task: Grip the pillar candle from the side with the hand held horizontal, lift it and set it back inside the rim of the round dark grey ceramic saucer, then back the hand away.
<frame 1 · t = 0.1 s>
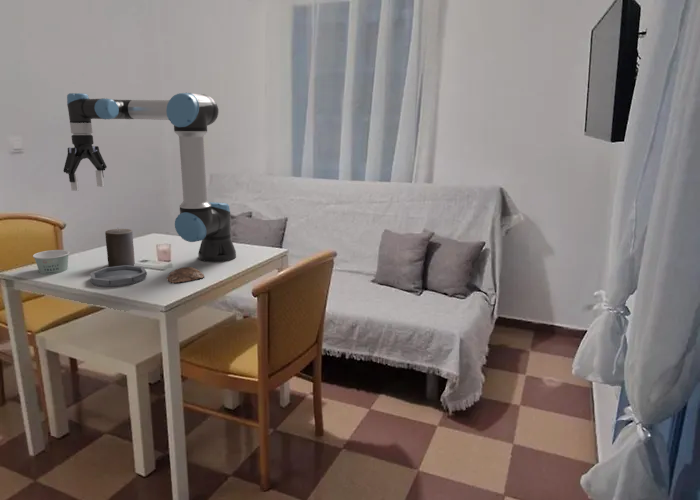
hand: (88, 188, 207), 28 cm above the table, tool pointing down, fingers open, 13 cm apart
shell: (185, 279, 187), on the table
food container: (53, 271, 193), on the table
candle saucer: (119, 278, 184), on the table
pillar candle: (122, 265, 201), on the table
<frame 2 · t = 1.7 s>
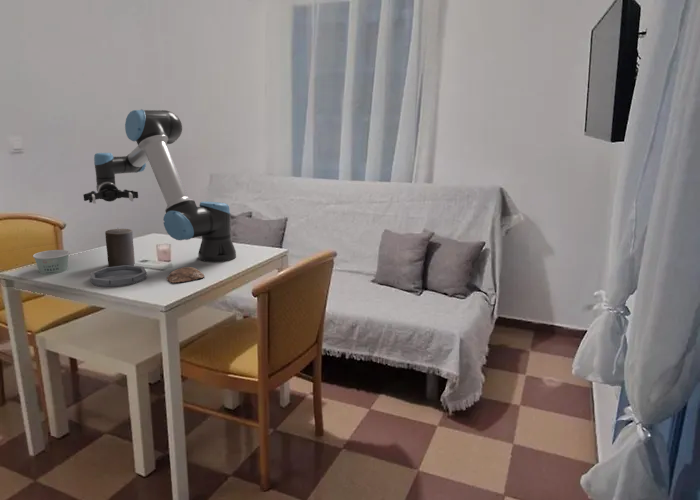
hand: (113, 198, 203), 25 cm above the table, tool horizontal, fingers open, 13 cm apart
nothing on the table moved.
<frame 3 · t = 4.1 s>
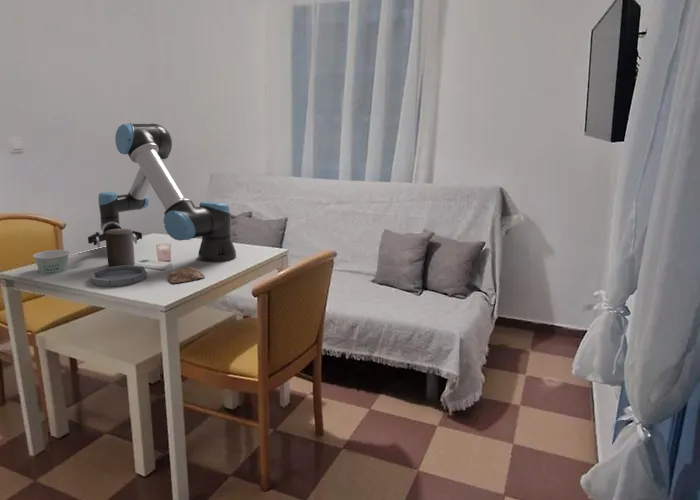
hand: (117, 242, 205), 8 cm above the table, tool horizontal, fingers open, 13 cm apart
nothing on the table moved.
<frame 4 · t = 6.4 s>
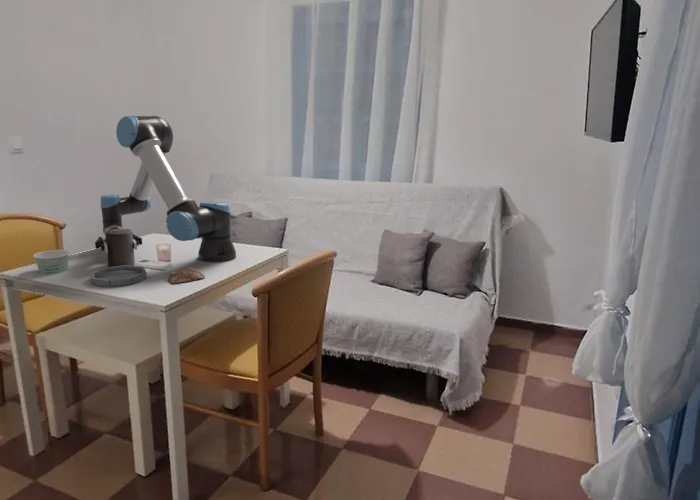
hand: (121, 247, 195), 8 cm above the table, tool horizontal, fingers closed on pillar candle, 9 cm apart
pillar candle: (122, 265, 201), on the table, touching gripper
everything else where it was.
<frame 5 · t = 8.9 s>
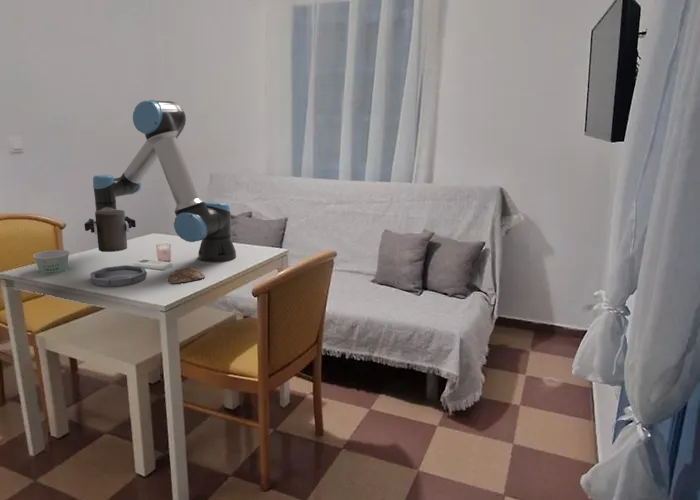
hand: (112, 229, 181), 18 cm above the table, tool horizontal, fingers closed on pillar candle, 9 cm apart
pillar candle: (113, 249, 187), point 10 cm above the table, touching gripper
everything else where it was.
when the fingers open (11 cm above the table, at t = 11.6 s): pillar candle drops 1 cm, resting on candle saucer.
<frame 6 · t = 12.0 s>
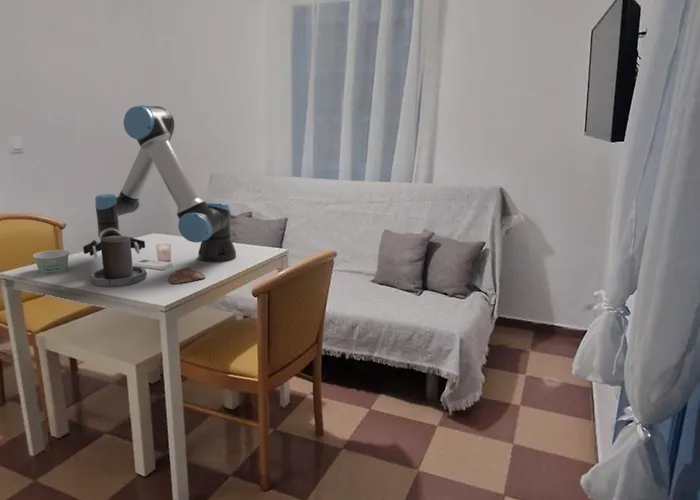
hand: (117, 252, 179), 11 cm above the table, tool horizontal, fingers open, 13 cm apart
pillar candle: (119, 276, 184), point 1 cm above the table, touching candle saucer
everything else where it was.
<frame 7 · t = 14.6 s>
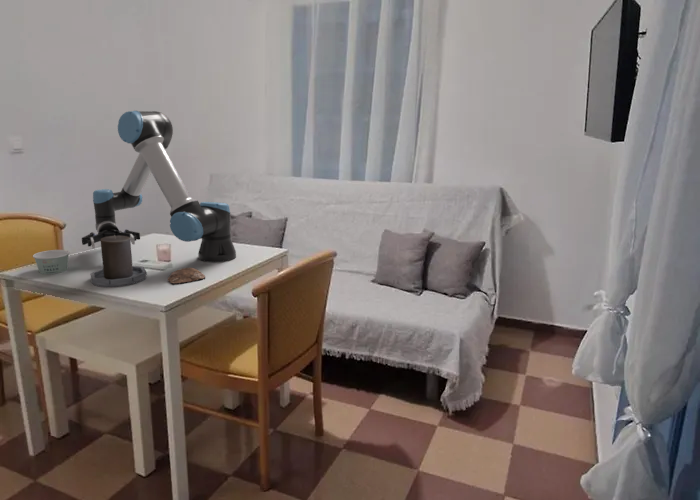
hand: (113, 242, 190), 11 cm above the table, tool horizontal, fingers open, 13 cm apart
nothing on the table moved.
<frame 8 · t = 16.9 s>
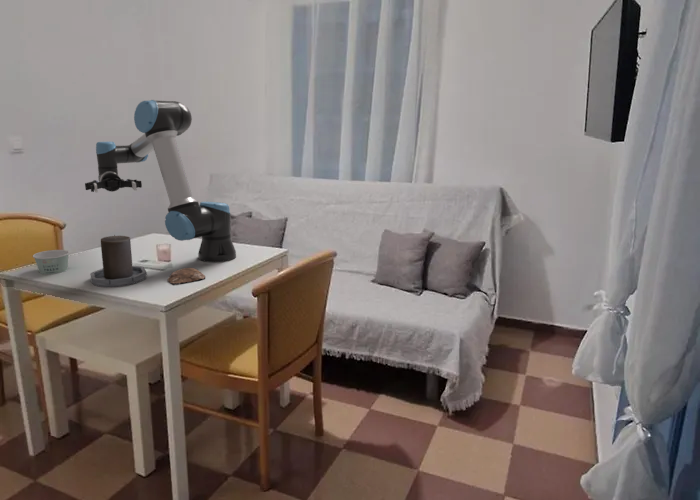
hand: (116, 187, 195), 30 cm above the table, tool horizontal, fingers open, 13 cm apart
at the end: pillar candle inside the target area on the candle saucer (0.1 cm from its centre), point 1.0 cm above the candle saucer's base; pillar candle tilted 0°; the gripper is holding nothing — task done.
